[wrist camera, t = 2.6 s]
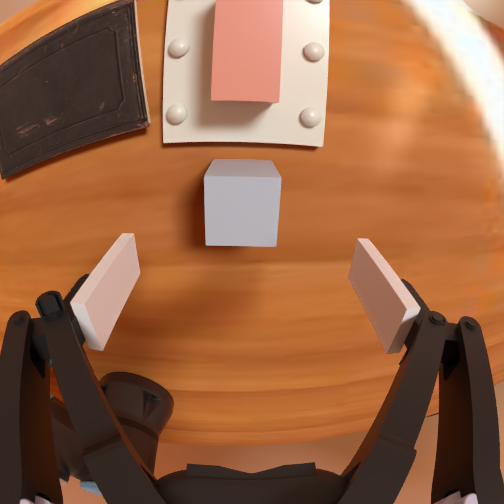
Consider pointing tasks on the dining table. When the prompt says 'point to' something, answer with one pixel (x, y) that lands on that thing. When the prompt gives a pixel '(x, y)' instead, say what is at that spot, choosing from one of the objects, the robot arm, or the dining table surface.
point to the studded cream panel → (246, 71)
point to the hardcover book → (73, 88)
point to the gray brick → (241, 203)
